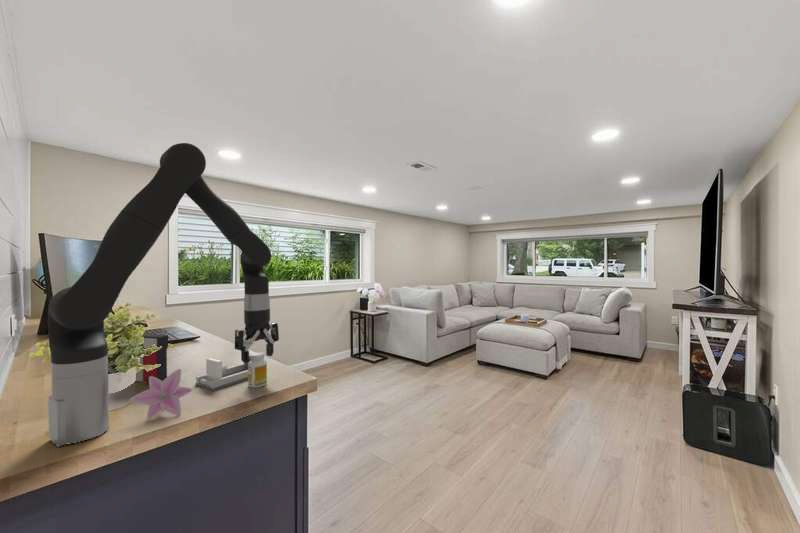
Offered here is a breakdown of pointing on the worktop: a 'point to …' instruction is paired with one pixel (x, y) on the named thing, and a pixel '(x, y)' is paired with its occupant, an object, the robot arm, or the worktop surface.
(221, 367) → the spring paddle
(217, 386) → the pusher lane
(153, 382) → the lily
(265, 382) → the supplement bottle
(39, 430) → the worktop surface
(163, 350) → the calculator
